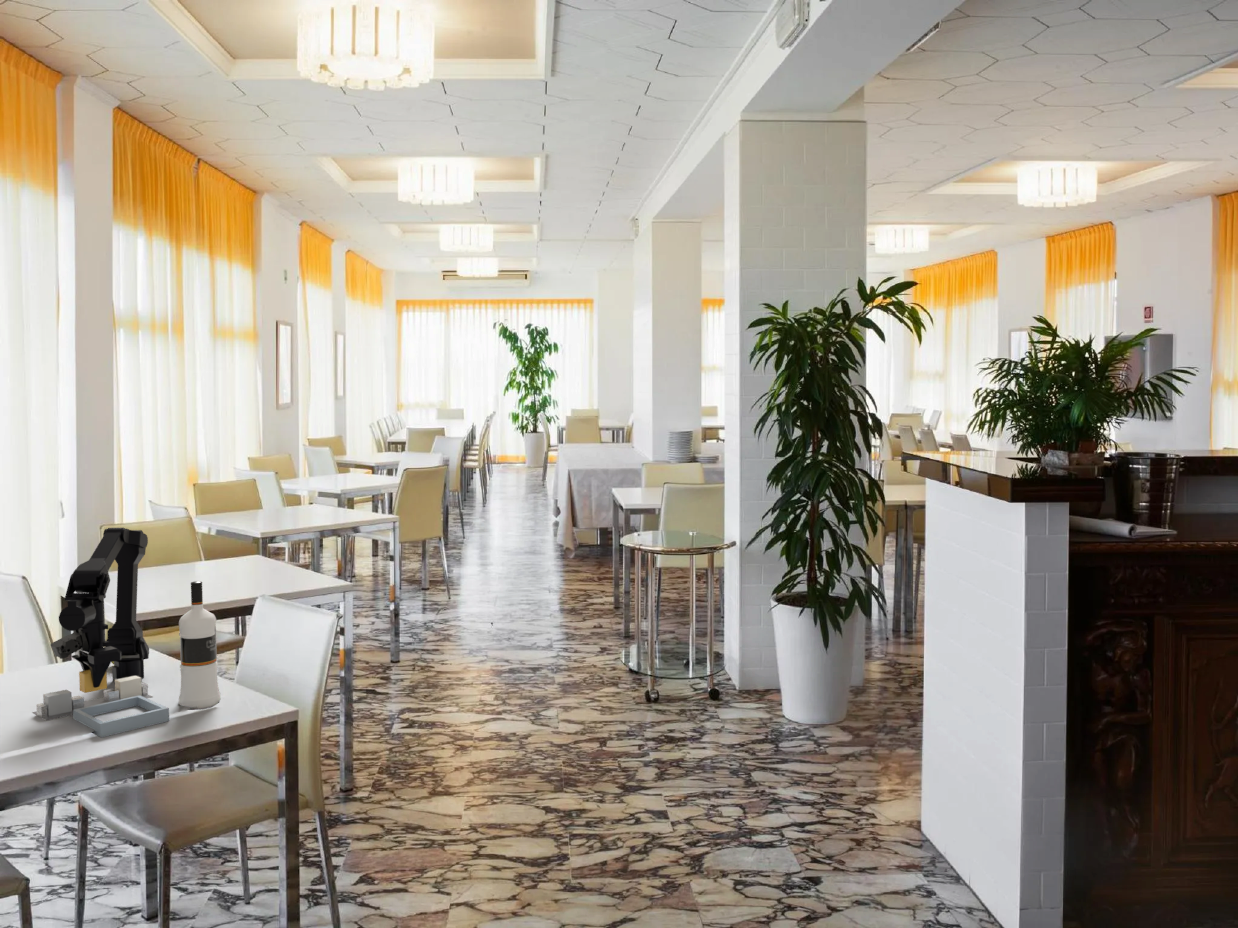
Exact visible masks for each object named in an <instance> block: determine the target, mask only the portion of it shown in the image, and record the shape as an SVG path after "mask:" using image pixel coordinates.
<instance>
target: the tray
mask: <svg viewBox="0 0 1238 928" xmlns="http://www.w3.org/2000/svg"><path fill="white" fill-rule="evenodd" d="M136 706H138V707H140V708H142V709H144V710H147V711H145V712H139V713H136V714H132V715H127V716H124V717H119V718H114V719H110V720H105V721H102V720H100V719H98V718H97V717H94V716H98V715H101V714H107V713H110V712H111V713H112V712H115V711H119V710H125V709H128V708H133V707H136ZM72 717H73V718H72V719H73V720H75V721H76V722H79V723H81V724H82V725H84V726H86V727H87V728H90V729H92V730H93V731H90V733H92V734H94V735H95V736H97V737H99V738H104V737H109V736H113V735H117V734H121V733H125V731H126V732H129V730H130V731H133V730H138V729H141V728H145V727H144V726H146V727H149V726H153V725H154V726H155V725H158V724H162V723H166V722H170V708H169V707H167V706H166V705H163V704H161V703H158V702H157V701H154V700H151V699H150V698H145V697H143V696H140V695H139V696H134V697H130V698H125V699H121V700H116V701H111V702H107V703H102V704H98V705H93V706H89V707H84V708H79V709H75V710H73V715H72ZM137 728H138V729H137Z"/></svg>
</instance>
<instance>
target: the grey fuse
mask: <svg viewBox="0 0 1238 928" xmlns="http://www.w3.org/2000/svg"><path fill="white" fill-rule="evenodd" d="M42 696H43V698H42V700H43V704H45V705H47V715H48V716H52V715H57V714H61V713H66V712H70V711H72V697H73V695H72V691H70V690H68V689H62V690H58V691H52V692H48V693H43V695H42Z"/></svg>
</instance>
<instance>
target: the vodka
mask: <svg viewBox="0 0 1238 928" xmlns="http://www.w3.org/2000/svg"><path fill="white" fill-rule="evenodd" d="M203 596H204V595H203V582H202V581H199V580H194V581H191V582H190V598H191V599H190V601H191V603H190V604H191V605H190V606H191V608H190V610H188V611H187V612H186V613H183V615H182V616H180V618H179V621H178V629H179V633H178V635H179V643H180V646H179V647H180V665H179V669H180V692H179V695H178V705H180V706H182V707H190V708H188V710H189V711H190V710H192V711H193V710H194V711H195V710H205V709H209V708H212V707H215V706H217V704H219V703H220V700H221V692H220V688H219V682H218V680H219V679H218V664H219V663H218V661H217V660H218V659H217V658H218V657H217V651H218V650H217V627H216V626H217V617H216V615H215V614H214V613H212V612H210V611H209V610H208V609H205V608H204V602H203V601H204V600H203V598H204V597H203Z"/></svg>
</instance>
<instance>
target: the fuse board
mask: <svg viewBox="0 0 1238 928" xmlns="http://www.w3.org/2000/svg"><path fill="white" fill-rule="evenodd" d="M148 688H149V685H148V684H147V683H145V682H143V681H141V689H142V696H143V697H145V698H147V699H151V698H154V696H152V695H150V694H149V692H148V691H149V689H148ZM102 691H103V696H101V697H96V698H92V699H87V700H85V698H84V697H83V696H81V695H75V696H74V695H73V696H72V711H70V712H66V713H61V714H57V715H52V716H48V715H47V705H45V704H44V703H36V704H35V705H36V711H32V712H31V713H32V714H34V715H36V716H37V717H39V718H41V719H43V720H44V721H51V720H57V719H61V718H66V717H69V716H73V710H75V709H79V708H84V707H89V706H93V705H98V704H102V703H107V702H111V701H116V700H119V690H117V689H115V687H114V688H113V687H112V688H106V689H102Z"/></svg>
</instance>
